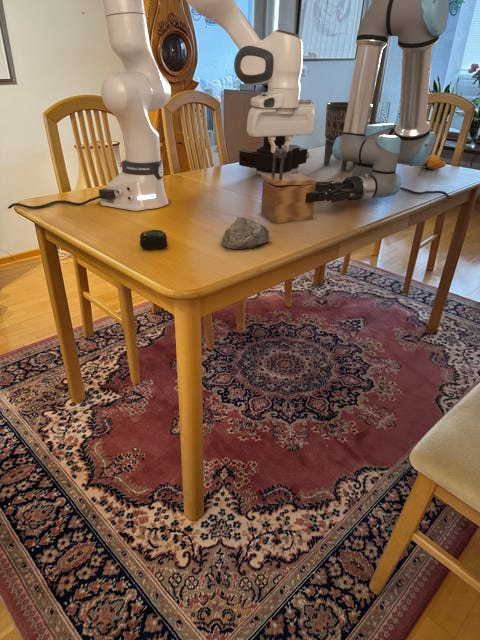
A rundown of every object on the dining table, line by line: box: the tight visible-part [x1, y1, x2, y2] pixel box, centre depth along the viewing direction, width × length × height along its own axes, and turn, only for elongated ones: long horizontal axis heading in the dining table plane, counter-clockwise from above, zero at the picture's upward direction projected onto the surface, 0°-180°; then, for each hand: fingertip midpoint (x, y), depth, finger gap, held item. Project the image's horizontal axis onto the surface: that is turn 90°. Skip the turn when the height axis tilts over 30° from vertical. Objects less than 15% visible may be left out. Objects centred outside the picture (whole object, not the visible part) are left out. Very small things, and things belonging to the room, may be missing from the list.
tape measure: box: [139, 229, 168, 250], centre depth 117 cm, size 7×7×4 cm
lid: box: [260, 149, 317, 186], centre depth 136 cm, size 14×10×9 cm
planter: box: [323, 101, 374, 172], centre depth 204 cm, size 20×20×26 cm
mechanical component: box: [238, 136, 311, 176], centre depth 191 cm, size 22×21×30 cm
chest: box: [260, 180, 315, 224], centre depth 141 cm, size 13×10×11 cm
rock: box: [221, 216, 270, 250], centre depth 119 cm, size 13×9×6 cm, turn 131°
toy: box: [421, 154, 447, 171], centre depth 211 cm, size 11×6×15 cm
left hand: (279, 152), depth 132 cm, fingers closed on lid, 2 cm apart
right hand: (298, 193), depth 141 cm, fingers closed on chest, 10 cm apart
